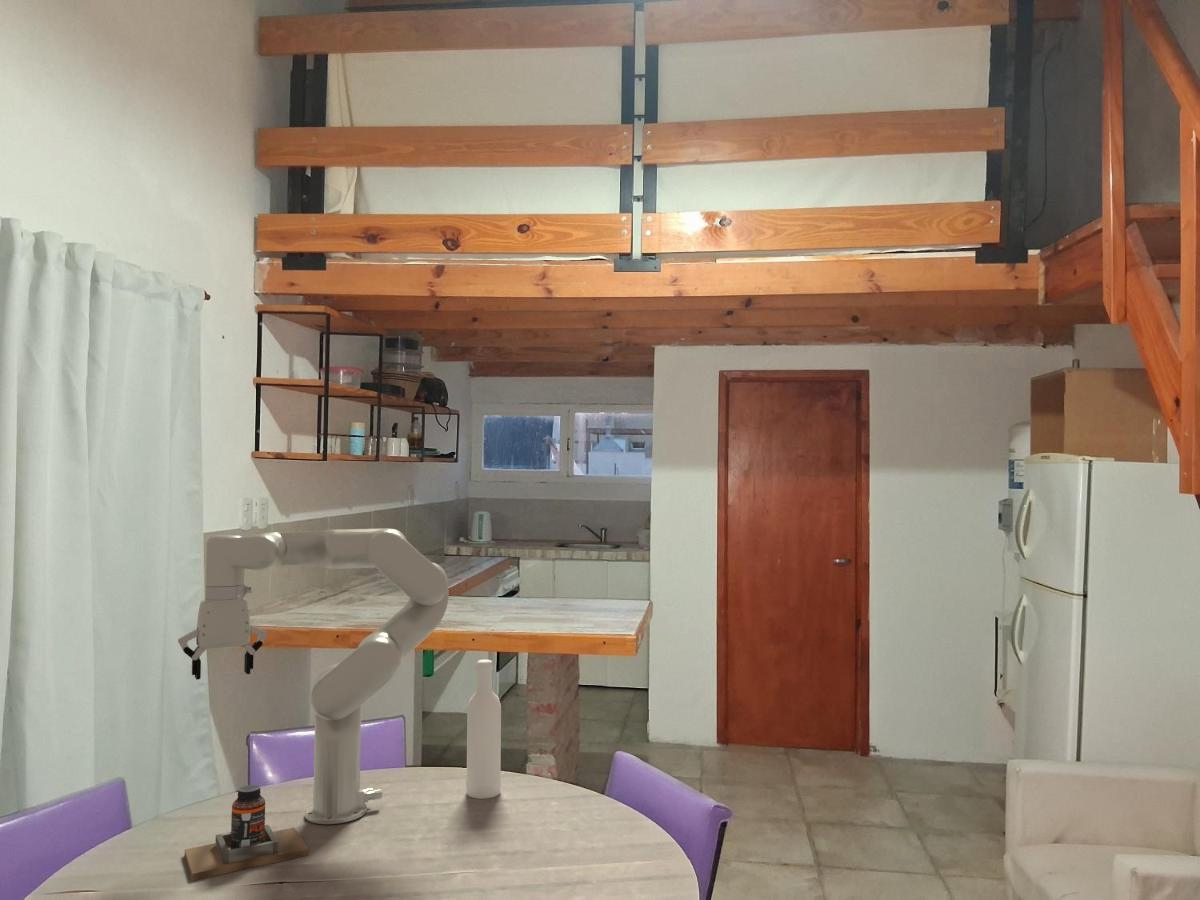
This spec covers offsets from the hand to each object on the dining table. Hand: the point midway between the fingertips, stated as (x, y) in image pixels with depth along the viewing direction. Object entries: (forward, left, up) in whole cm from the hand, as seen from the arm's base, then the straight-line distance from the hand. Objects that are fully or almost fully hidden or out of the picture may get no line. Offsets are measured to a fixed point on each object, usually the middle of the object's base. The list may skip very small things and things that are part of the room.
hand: (222, 675), depth 178 cm
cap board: (-2, +20, -30) cm, 36 cm away
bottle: (-54, +13, -31) cm, 63 cm away
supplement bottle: (-2, +20, -29) cm, 36 cm away
